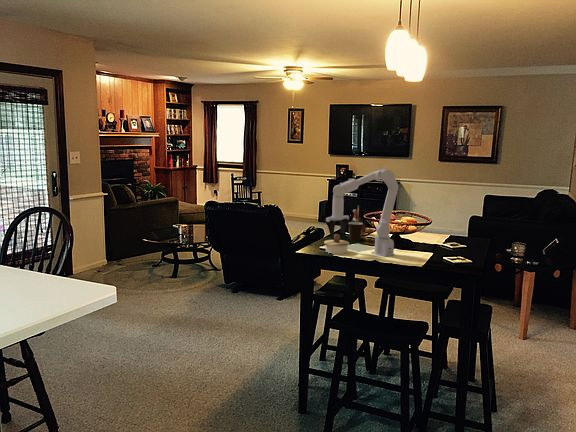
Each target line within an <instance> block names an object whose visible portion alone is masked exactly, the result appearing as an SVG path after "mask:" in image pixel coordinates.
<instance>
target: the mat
mask: <svg viewBox="0 0 576 432" xmlns="http://www.w3.org/2000/svg"><path fill="white" fill-rule="evenodd" d="M347 250H350V251H354V252H357V253H359V252H366V251H370V250H371V251H373V250H375V246H370V245H366V244H362V243H353V244H352V243H351V244H349V245H348V248H347Z"/></svg>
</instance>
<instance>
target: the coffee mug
mask: <svg viewBox="0 0 576 432" xmlns="http://www.w3.org/2000/svg"><path fill="white" fill-rule="evenodd" d="M347 226H348V235H349V237H348V238H349V240H350V241H352V242H353V241H354V242H355V241H356V242H357V241H361V239H362V235H363V234H362V227H363V223H360V222H352V221H349V223H348V224H347Z"/></svg>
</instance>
